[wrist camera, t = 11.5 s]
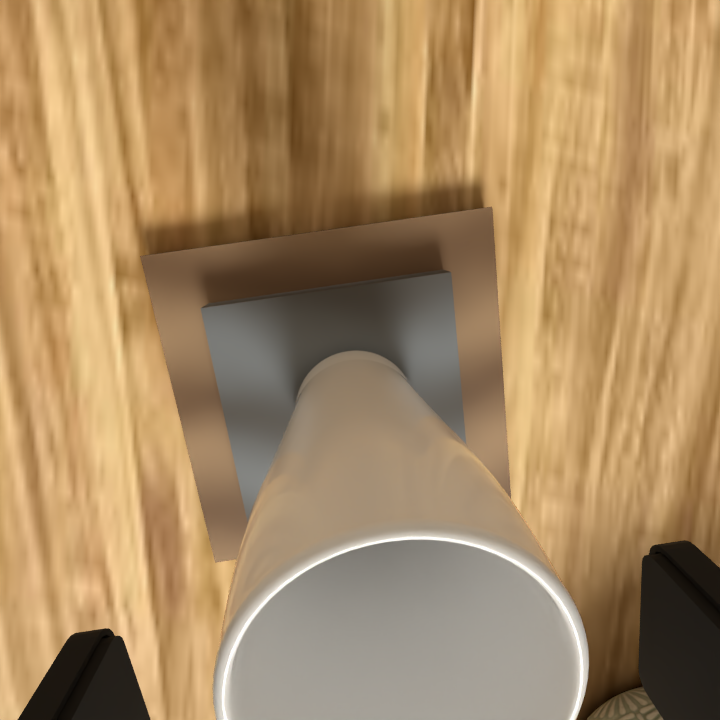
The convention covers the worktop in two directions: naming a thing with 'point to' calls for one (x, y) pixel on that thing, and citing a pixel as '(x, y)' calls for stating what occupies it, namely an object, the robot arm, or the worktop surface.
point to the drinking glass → (390, 573)
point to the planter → (627, 707)
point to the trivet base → (320, 267)
